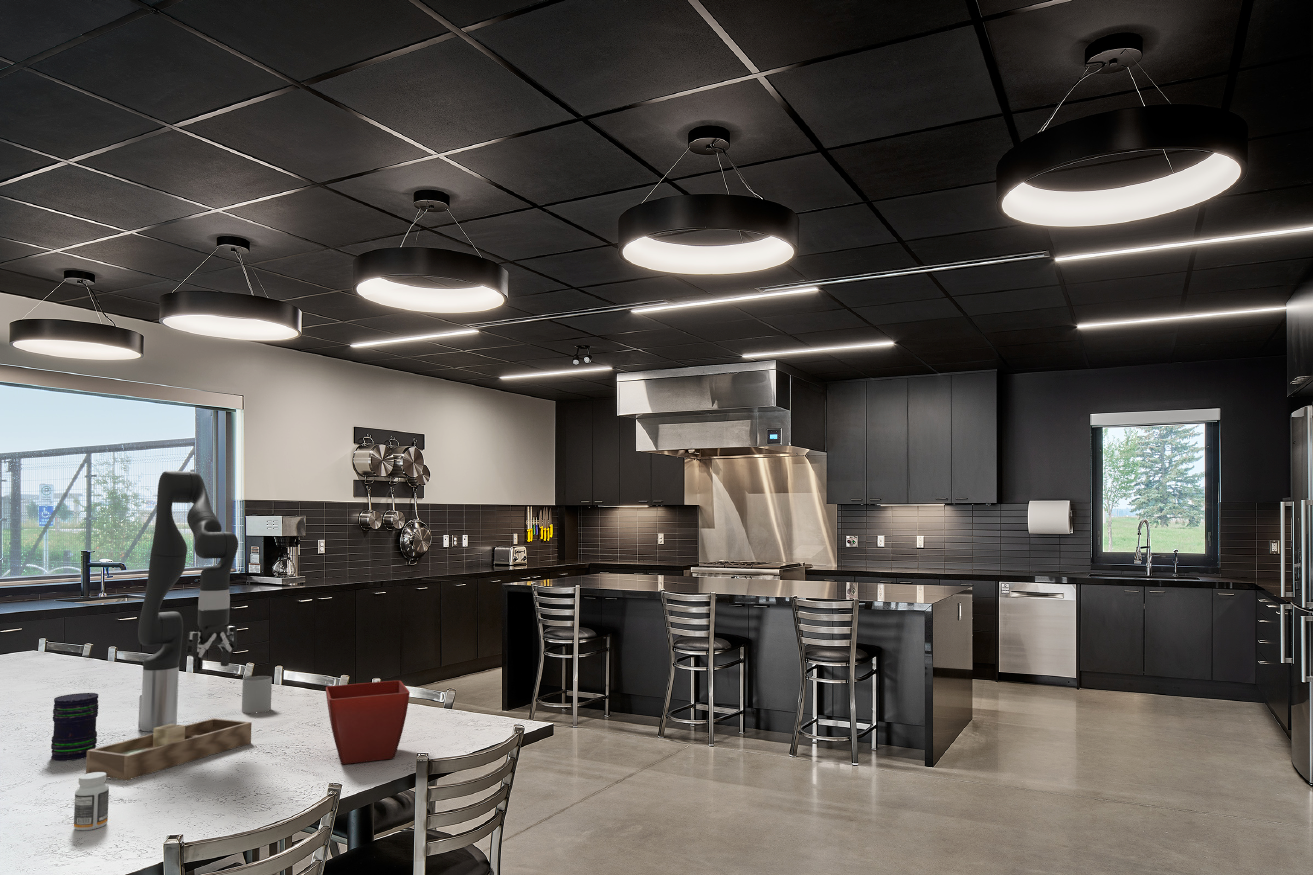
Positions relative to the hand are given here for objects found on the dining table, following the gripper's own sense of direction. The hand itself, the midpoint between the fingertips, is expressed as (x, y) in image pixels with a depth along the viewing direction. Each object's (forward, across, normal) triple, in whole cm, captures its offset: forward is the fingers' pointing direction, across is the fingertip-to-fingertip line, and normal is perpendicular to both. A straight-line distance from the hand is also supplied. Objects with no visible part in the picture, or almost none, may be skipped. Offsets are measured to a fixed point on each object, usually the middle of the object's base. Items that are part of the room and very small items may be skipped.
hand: (211, 668), depth 235 cm
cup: (+21, -40, -24) cm, 52 cm away
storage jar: (+21, +17, -28) cm, 39 cm away
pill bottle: (+21, +52, +26) cm, 62 cm away
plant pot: (+21, -9, +44) cm, 49 cm away
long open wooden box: (+21, +9, -2) cm, 23 cm away
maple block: (+18, +11, -2) cm, 21 cm away
